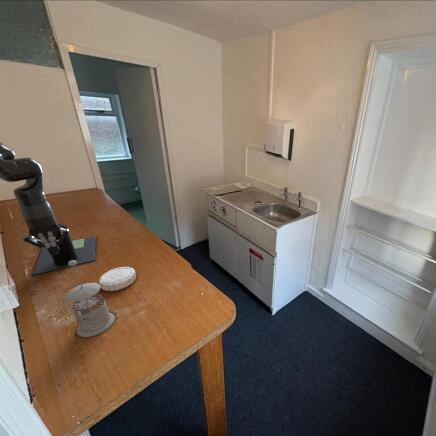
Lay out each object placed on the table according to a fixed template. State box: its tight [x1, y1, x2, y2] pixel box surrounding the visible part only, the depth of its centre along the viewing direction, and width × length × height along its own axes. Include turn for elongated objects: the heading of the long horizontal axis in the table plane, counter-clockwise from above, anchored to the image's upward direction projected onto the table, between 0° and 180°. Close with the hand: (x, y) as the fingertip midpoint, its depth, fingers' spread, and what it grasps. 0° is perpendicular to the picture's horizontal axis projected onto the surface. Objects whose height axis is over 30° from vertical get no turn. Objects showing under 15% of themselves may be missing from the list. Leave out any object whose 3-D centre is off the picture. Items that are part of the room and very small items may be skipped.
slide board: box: [32, 236, 96, 276], centre depth 110 cm, size 20×26×1 cm
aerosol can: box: [49, 223, 78, 265], centre depth 100 cm, size 8×8×20 cm
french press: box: [61, 260, 116, 338], centre depth 71 cm, size 10×12×25 cm
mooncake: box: [98, 266, 137, 292], centre depth 94 cm, size 12×12×4 cm
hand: (55, 253), depth 92 cm, fingers closed
